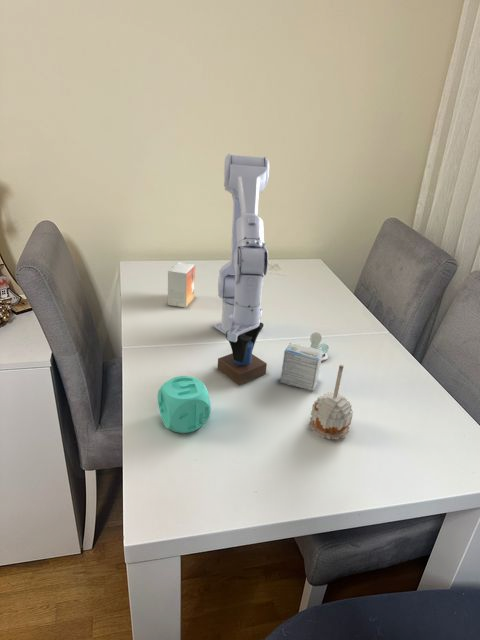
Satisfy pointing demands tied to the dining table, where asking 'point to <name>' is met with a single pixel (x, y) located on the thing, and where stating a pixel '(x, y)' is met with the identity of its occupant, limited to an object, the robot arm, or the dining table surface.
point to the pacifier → (315, 342)
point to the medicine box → (301, 366)
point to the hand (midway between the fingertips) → (242, 355)
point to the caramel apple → (331, 413)
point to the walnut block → (241, 369)
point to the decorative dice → (184, 404)
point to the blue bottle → (246, 355)
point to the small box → (181, 284)
